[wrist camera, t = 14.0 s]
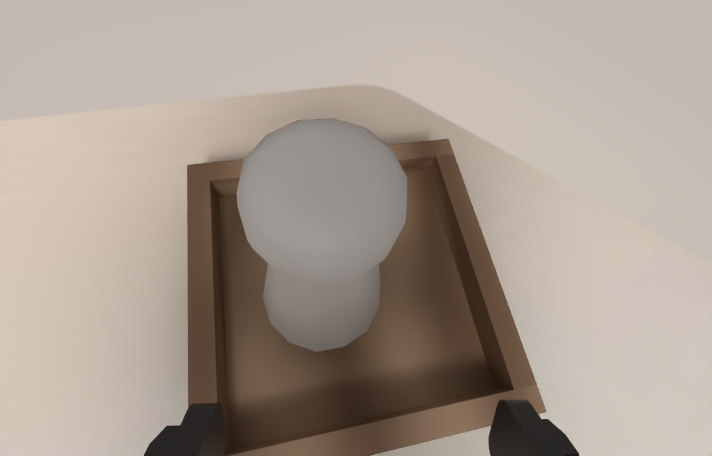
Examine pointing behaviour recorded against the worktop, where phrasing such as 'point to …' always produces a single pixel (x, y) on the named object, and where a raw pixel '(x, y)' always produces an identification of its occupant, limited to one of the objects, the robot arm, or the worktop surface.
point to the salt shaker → (322, 226)
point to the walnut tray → (370, 350)
